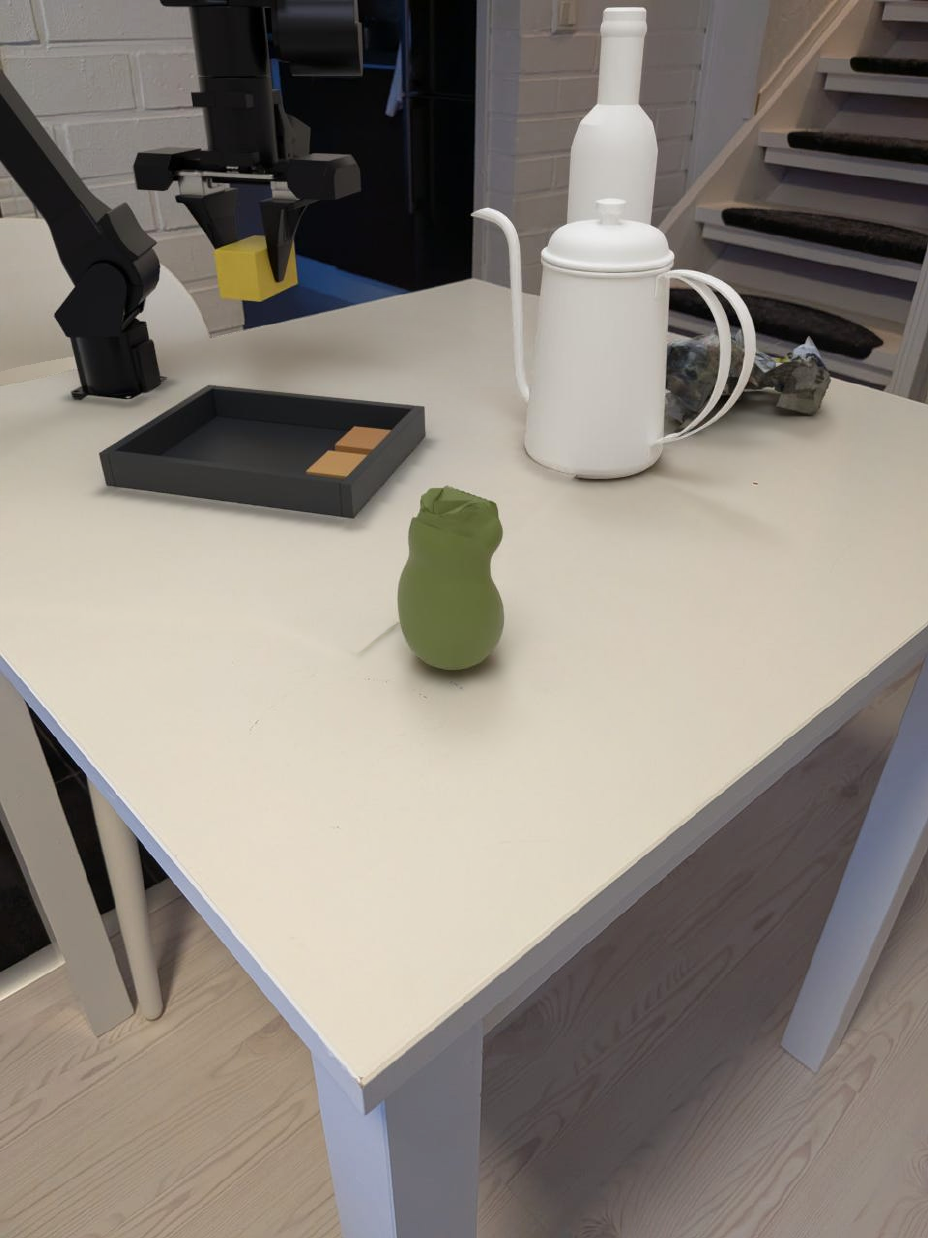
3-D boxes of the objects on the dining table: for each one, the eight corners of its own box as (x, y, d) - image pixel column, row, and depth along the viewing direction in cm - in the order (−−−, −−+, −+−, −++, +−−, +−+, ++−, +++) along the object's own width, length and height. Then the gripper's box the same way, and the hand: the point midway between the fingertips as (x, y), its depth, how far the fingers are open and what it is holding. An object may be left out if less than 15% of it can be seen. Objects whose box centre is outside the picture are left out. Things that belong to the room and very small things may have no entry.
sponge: (220, 298, 80) (213, 249, 77) (259, 280, 85) (254, 234, 83) (260, 301, 79) (254, 252, 76) (298, 283, 84) (293, 237, 82)
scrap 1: (307, 490, 66) (305, 470, 65) (330, 468, 69) (328, 450, 69) (359, 496, 65) (357, 477, 64) (379, 474, 68) (378, 455, 68)
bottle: (560, 351, 96) (579, 8, 80) (636, 354, 95) (670, 7, 79) (556, 375, 89) (575, 6, 73) (637, 378, 88) (676, 6, 72)
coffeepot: (511, 400, 84) (517, 173, 73) (763, 476, 69) (813, 207, 59) (428, 433, 77) (421, 189, 67) (687, 524, 63) (729, 231, 52)
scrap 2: (336, 462, 70) (334, 444, 70) (355, 443, 74) (354, 425, 73) (384, 468, 69) (383, 450, 69) (402, 448, 73) (401, 430, 72)
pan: (107, 492, 67) (98, 452, 66) (213, 418, 80) (208, 384, 78) (353, 525, 63) (350, 484, 61) (425, 442, 75) (424, 406, 74)
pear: (381, 662, 49) (371, 493, 44) (445, 620, 53) (442, 459, 47) (461, 703, 46) (460, 527, 41) (523, 656, 50) (530, 488, 44)
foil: (864, 401, 73) (720, 293, 70) (768, 498, 79) (631, 402, 76) (836, 351, 83) (707, 254, 79) (751, 441, 89) (629, 354, 85)
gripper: (381, 73, 77) (389, 268, 85) (189, 70, 82) (214, 254, 90) (323, 79, 68) (339, 296, 76) (111, 75, 73) (148, 279, 81)
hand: (258, 279), depth 81 cm, fingers closed on sponge, 4 cm apart
